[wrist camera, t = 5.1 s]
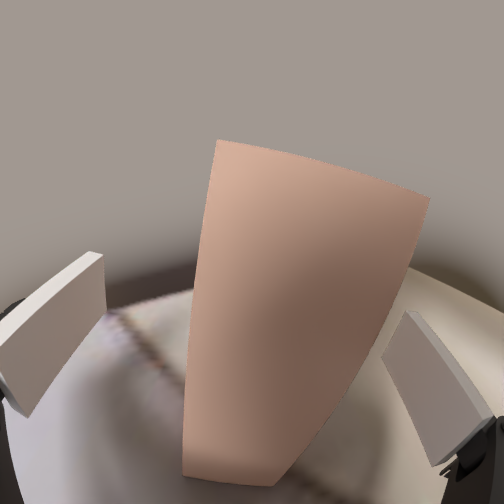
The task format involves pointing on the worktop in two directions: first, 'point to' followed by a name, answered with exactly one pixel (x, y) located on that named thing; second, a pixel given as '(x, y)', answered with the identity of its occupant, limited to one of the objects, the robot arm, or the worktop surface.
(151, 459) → the worktop surface
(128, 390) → the worktop surface
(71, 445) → the worktop surface
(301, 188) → the clay bar
